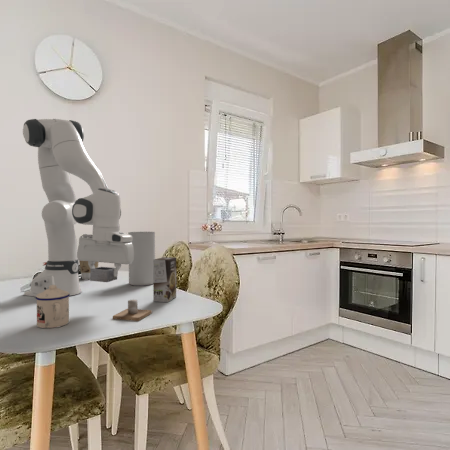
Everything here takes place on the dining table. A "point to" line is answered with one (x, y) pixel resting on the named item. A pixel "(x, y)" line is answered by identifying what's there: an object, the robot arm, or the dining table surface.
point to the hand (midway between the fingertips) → (104, 275)
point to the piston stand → (132, 312)
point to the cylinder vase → (142, 258)
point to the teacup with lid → (52, 308)
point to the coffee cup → (86, 269)
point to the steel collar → (102, 274)
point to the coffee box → (164, 279)
